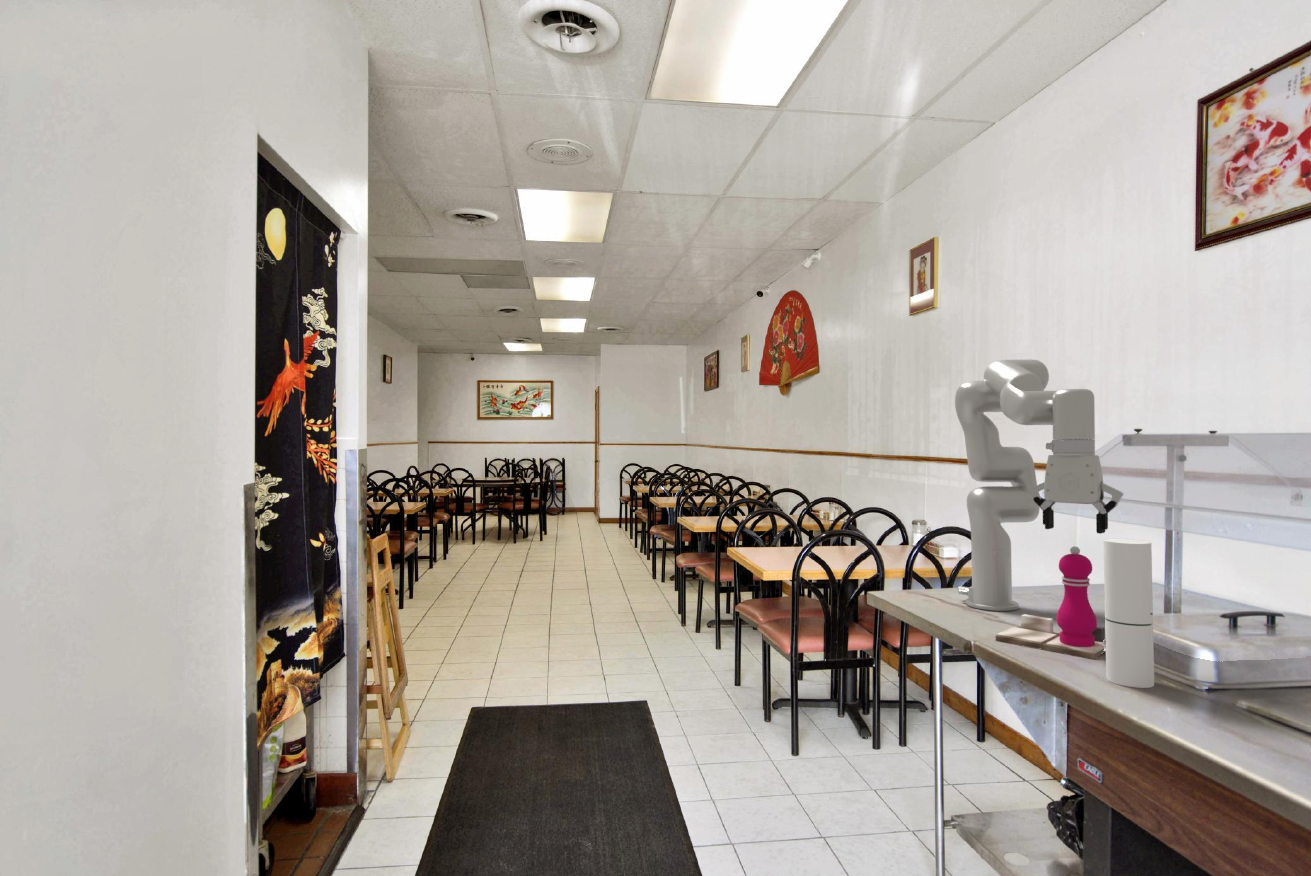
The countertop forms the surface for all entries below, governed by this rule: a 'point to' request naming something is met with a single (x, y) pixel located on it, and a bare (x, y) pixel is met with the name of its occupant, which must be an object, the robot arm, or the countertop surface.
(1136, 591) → the cylindrical container
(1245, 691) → the countertop surface
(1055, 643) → the board
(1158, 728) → the countertop surface
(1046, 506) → the robot arm
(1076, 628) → the pepper mill
